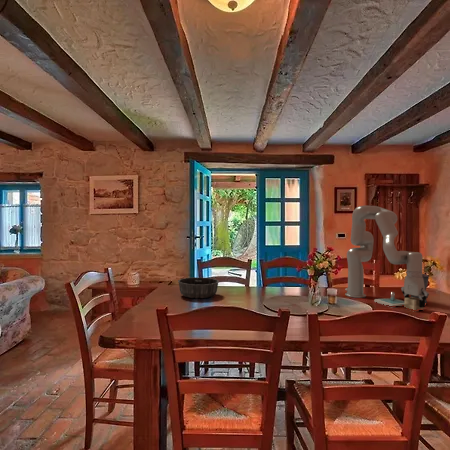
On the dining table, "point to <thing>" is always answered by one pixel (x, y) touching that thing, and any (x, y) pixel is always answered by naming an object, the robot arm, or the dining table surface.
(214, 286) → the bundt pan
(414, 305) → the birch collar
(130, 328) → the dining table surface
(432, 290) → the dining table surface
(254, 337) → the dining table surface
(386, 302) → the post board
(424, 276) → the moka pot
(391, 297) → the steel post
